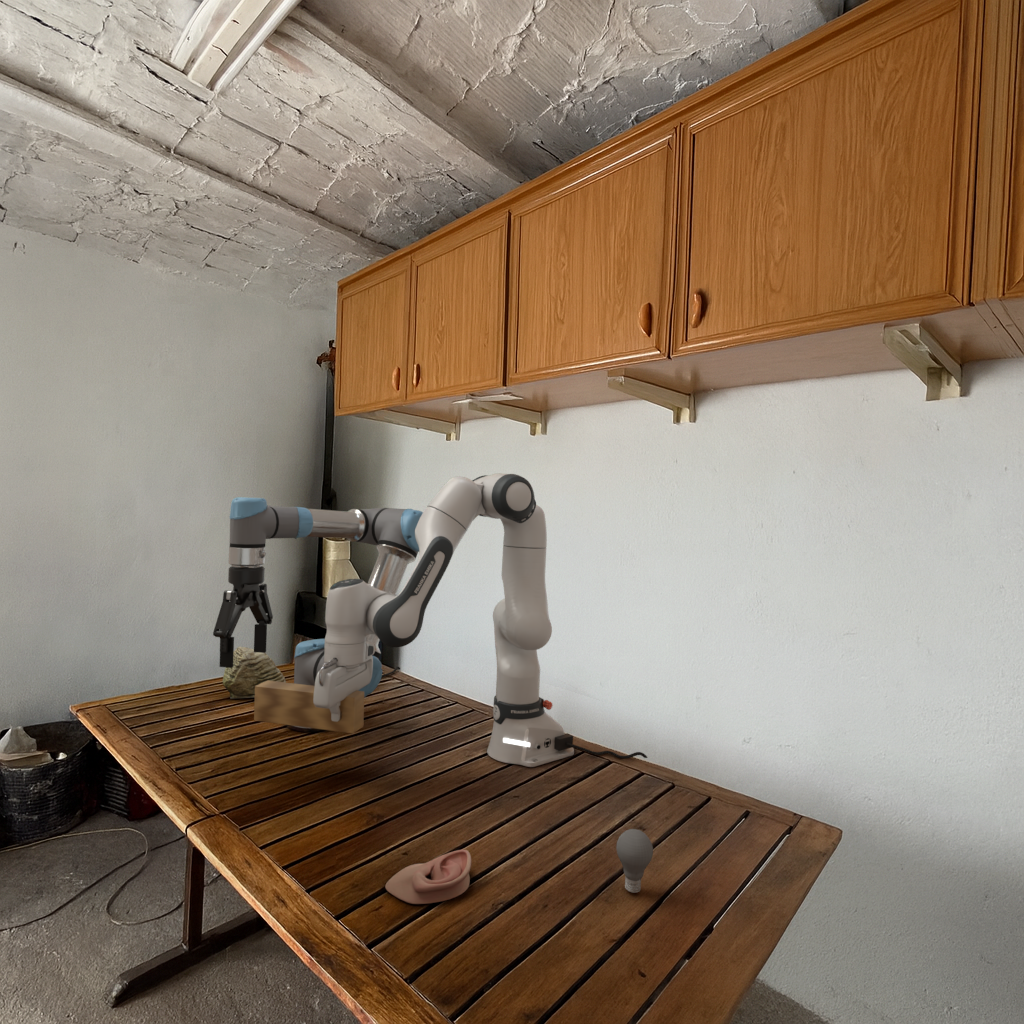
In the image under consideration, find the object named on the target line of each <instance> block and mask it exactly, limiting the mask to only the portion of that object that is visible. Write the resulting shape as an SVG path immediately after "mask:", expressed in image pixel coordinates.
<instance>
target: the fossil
mask: <svg viewBox="0 0 1024 1024" xmlns="http://www.w3.org/2000/svg"><path fill="white" fill-rule="evenodd" d="M222 676H223V677H222V685H223V687H224V688H225V690H226V691H228V693H229V698H230V699H250V698H255V686H256V685H259V684H261V683H263V682H265V681H277V682H285V683H287V680H286V678H285V676H284V674H283V673H282V672H281V669H279V668H278V667H277V665H276V663H275V662H274V660H273V659H272V658H271V657H270V656H269V655H268V654H267V652H265V653H260V652H254V648H251V647H247V646H246V647H245V646H238V647H237V648H236V649H234V656H233V667H232V668H227V667H224V671H223V675H222Z"/></svg>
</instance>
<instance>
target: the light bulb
mask: <svg viewBox="0 0 1024 1024" xmlns="http://www.w3.org/2000/svg"><path fill="white" fill-rule="evenodd" d="M615 849H616V854H617V857H618V859H619V861H620V863H621V865H622V867H623V873H624V874H623V875H624V876H625V878H624V888H625V890H627V891H628V892H630V893H634V894H635V893H639V892H640V891H641V889H642V887H641V886H642V879H643V877H644V875H645V871H646V868H647V867H648V866H649V864H650V863H651V861H652V859H653V855H654V847H653V843H652V841H651V838H649V836H648V835H647V834H646V833H645V832H643V831H642V830H641V829H636V828H629V829H627V830H625V831H623V832H622V833H621V834H620V835H619V837H618V839H617V841H616V847H615Z"/></svg>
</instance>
